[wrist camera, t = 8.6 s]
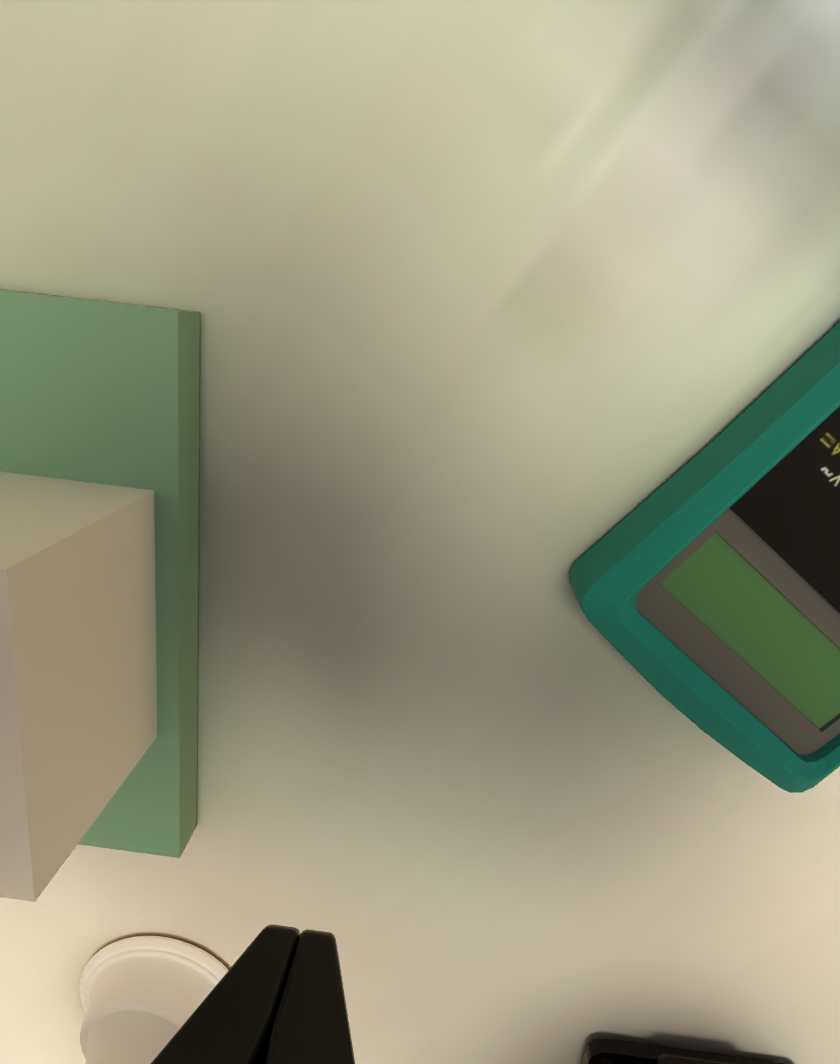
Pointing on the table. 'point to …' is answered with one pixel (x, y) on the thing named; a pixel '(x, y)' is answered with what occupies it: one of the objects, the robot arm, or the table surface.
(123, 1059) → the candle
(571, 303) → the table surface
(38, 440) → the header board
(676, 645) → the digital multimeter
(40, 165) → the table surface
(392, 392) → the table surface
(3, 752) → the block
